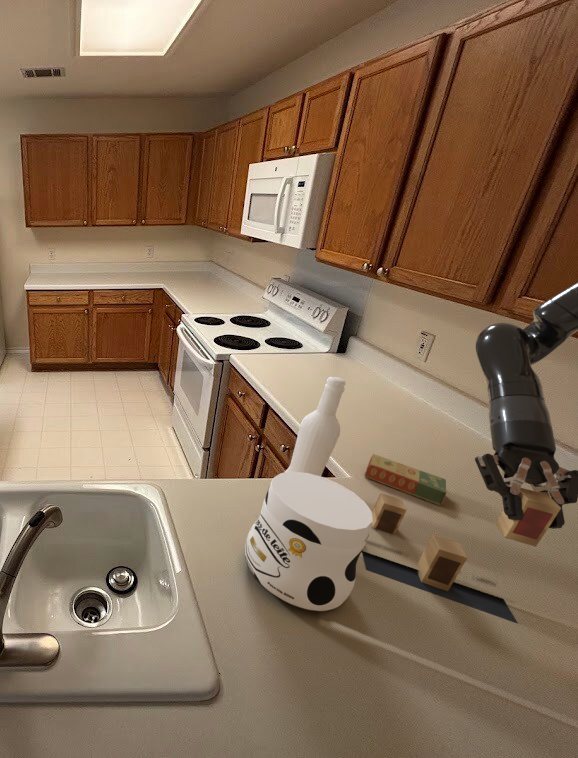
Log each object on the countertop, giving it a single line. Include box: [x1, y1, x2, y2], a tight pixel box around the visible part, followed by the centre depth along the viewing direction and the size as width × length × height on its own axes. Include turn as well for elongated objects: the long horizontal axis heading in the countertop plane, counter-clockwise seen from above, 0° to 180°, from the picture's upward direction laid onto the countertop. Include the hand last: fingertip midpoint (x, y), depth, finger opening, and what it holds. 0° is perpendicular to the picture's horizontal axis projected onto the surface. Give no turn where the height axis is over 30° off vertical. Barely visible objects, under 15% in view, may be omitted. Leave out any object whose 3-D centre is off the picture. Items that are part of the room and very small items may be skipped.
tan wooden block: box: [371, 492, 408, 535], centre depth 88 cm, size 4×4×8 cm
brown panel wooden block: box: [415, 534, 468, 591], centre depth 75 cm, size 4×4×8 cm
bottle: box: [283, 376, 346, 477], centre depth 95 cm, size 8×8×30 cm
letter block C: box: [495, 487, 561, 548], centre depth 69 cm, size 4×4×8 cm
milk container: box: [244, 471, 373, 612], centre depth 72 cm, size 17×17×18 cm
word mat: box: [361, 550, 519, 625], centre depth 77 cm, size 22×8×1 cm, turn 64°
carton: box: [364, 453, 448, 507], centre depth 106 cm, size 8×16×4 cm, turn 50°
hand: (534, 523), depth 67 cm, fingers closed on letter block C, 4 cm apart
